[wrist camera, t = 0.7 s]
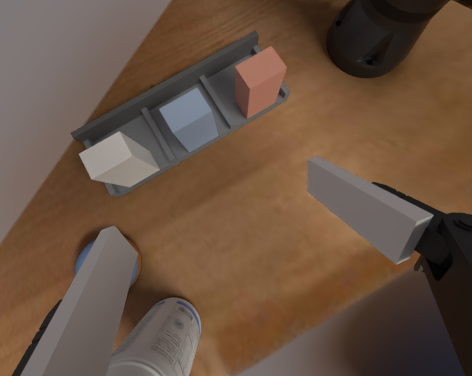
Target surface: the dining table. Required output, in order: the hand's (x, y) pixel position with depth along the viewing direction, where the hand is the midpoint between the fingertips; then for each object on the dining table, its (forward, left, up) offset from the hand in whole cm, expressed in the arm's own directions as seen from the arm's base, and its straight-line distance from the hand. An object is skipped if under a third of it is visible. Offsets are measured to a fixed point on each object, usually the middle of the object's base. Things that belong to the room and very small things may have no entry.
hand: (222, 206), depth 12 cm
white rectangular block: (+10, -14, -18) cm, 25 cm away
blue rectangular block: (-2, -14, -18) cm, 23 cm away
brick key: (-14, -14, -18) cm, 27 cm away
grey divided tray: (-2, -18, -20) cm, 27 cm away
